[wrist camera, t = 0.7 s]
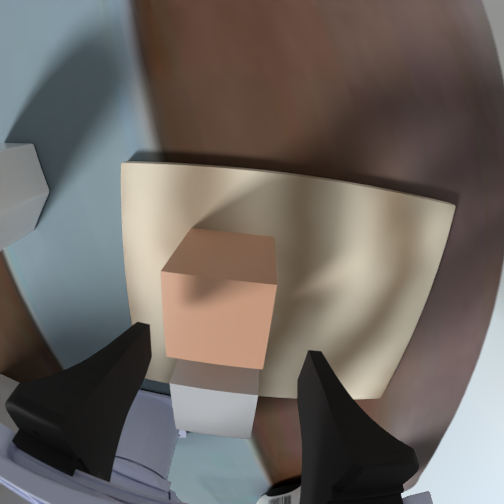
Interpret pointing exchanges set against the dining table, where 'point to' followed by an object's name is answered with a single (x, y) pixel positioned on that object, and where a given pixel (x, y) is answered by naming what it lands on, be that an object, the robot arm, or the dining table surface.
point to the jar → (20, 191)
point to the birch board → (294, 262)
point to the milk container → (282, 495)
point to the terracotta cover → (219, 298)
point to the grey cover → (214, 398)
